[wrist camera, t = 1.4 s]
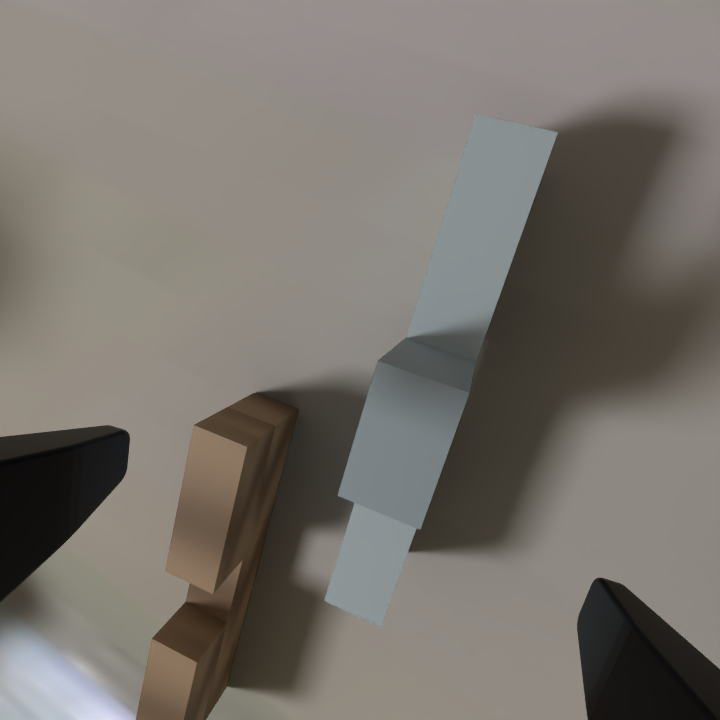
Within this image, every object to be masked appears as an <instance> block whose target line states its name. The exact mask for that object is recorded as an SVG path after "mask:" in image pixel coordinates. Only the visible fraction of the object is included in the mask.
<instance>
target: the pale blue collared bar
mask: <svg viewBox="0 0 720 720" xmlns="http://www.w3.org/2000/svg"><path fill="white" fill-rule="evenodd" d="M557 134H558V132H554V131H549V130H545V129H540V128H536V127H532V126H527V125H523V124H518V123H514V122H509V121H505V120H501V119H496V118H492V117H487V116H483V115H478V114H475V117H474V121H473V124H472V127H471V130H470V133H469V137H468V140H467V143H466V146H465V149H464V153H463V156H462V159H461V162H460V166H459V169H458V172H457V175H456V178H455V182H454V185H453V188H452V191H451V194H450V198H449V201H448V204H447V207H446V211H445V214H444V217H443V220H442V223H441V227H440V230H439V233H438V236H437V239H436V243H435V246H434V249H433V252H432V256H431V259H430V262H429V265H428V268H427V272H426V275H425V278H424V281H423V285H422V288H421V291H420V294H419V297H418V301H417V304H416V307H415V310H414V313H413V317H412V320H411V323H410V326H409V330H408V333H407V336H406V338H405V339H404V340H403V341H401V342H400V343H399V344H398V345H397V346H395V347H394V348H393V349H392V350H390V351H389V352H388V353H387V354H385V355H384V356H383V357H382V358H381V359H379V360H378V361H377V365H376V368H375V371H374V375H373V378H372V381H371V385H370V388H369V391H368V395H367V398H366V401H365V405H364V408H363V412H362V415H361V418H360V422H359V425H358V428H357V432H356V435H355V438H354V442H353V445H352V448H351V452H350V455H349V458H348V462H347V465H346V468H345V472H344V475H343V479H342V482H341V485H340V489H339V492H338V495H337V496H339V497H342V498H344V499H347V500H349V501H351V502H354V506H353V510H352V513H351V516H350V519H349V522H348V526H347V529H346V532H345V535H344V539H343V542H342V545H341V548H340V551H339V555H338V558H337V561H336V564H335V567H334V571H333V574H332V577H331V580H330V584H329V587H328V590H327V593H326V596H325V600H324V601H326V602H328V603H330V604H332V605H334V606H336V607H339V608H341V609H343V610H345V611H347V612H349V613H351V614H354V615H356V616H358V617H360V618H362V619H364V620H367V621H369V622H371V623H373V624H375V625H377V626H379V627H381V626H382V624H383V621H384V618H385V615H386V612H387V610H388V607H389V604H390V601H391V598H392V596H393V593H394V590H395V587H396V584H397V582H398V579H399V576H400V573H401V570H402V568H403V565H404V562H405V559H406V556H407V554H408V551H409V548H410V545H411V542H412V540H413V537H414V534H415V531H416V528H417V529H419V530H420V529H421V527H422V524H423V521H424V518H425V516H426V513H427V510H428V507H429V505H430V502H431V499H432V496H433V493H434V491H435V488H436V485H437V482H438V480H439V477H440V474H441V471H442V468H443V466H444V463H445V460H446V457H447V455H448V452H449V449H450V446H451V443H452V441H453V438H454V435H455V432H456V430H457V427H458V424H459V421H460V418H461V416H462V413H463V410H464V407H465V405H466V402H467V399H468V396H469V393H470V389H471V384H472V379H473V375H474V370H475V365H476V361H477V358H478V355H479V352H480V349H481V347H482V344H483V341H484V338H485V335H486V333H487V330H488V327H489V324H490V321H491V319H492V316H493V313H494V310H495V307H496V305H497V302H498V299H499V296H500V293H501V291H502V288H503V285H504V282H505V279H506V277H507V274H508V271H509V268H510V265H511V263H512V260H513V257H514V254H515V251H516V249H517V246H518V243H519V240H520V237H521V235H522V232H523V229H524V226H525V223H526V221H527V218H528V215H529V212H530V209H531V207H532V204H533V201H534V198H535V195H536V193H537V190H538V187H539V184H540V181H541V179H542V176H543V173H544V170H545V167H546V165H547V162H548V159H549V156H550V153H551V151H552V148H553V145H554V142H555V139H556V137H557Z"/></svg>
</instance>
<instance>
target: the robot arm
mask: <svg viewBox="0 0 720 720" xmlns="http://www.w3.org/2000/svg"><path fill="white" fill-rule="evenodd" d="M129 443H130V436H129V433H128V432H127V431H126V430H123V429H120V428H117V427H114V426H109V425H105V426H96V427H87V428H78V429H69V430H60V431H51V432H42V433H33V434H24V435H15V436H6V437H0V602H1V601H3V600H4V599H5V598H6V597H7V596H8V595H9V594H10V593H11V592H12V591H13V590H14V589H16V588H17V587H18V586H19V585H20V584H21V583H22V582H23V581H24V580H25V579H26V578H27V577H29V576H30V575H31V574H32V573H33V572H34V571H35V570H36V569H37V568H38V567H39V566H40V565H42V564H43V563H44V562H45V561H46V560H47V559H48V558H49V557H50V556H51V555H52V554H54V553H55V552H56V551H57V550H58V549H59V548H60V547H61V546H62V545H63V544H64V543H65V542H66V541H67V540H68V539H69V538H70V537H71V536H72V535H73V534H74V533H75V532H76V531H77V530H78V529H79V527H80V526H81V525H82V524H83V523H84V522H85V521H86V520H87V519H88V517H89V516H90V515H91V514H92V513H93V512H94V511H95V510H96V509H97V507H98V506H99V505H100V504H101V503H102V502H103V501H104V500H105V499H106V497H107V496H108V495H109V494H110V493H111V492H112V491H113V490H114V489H115V487H116V486H117V485H118V484H119V483H120V482H121V481H122V479H123V478H124V476H125V474H126V470H127V464H128V454H129ZM577 631H578V640H579V649H580V658H581V667H582V675H583V684H584V693H585V702H586V710H587V717H588V720H720V669H719V668H718V667H717V666H716V665H714V664H713V663H712V662H711V661H710V660H709V659H708V658H706V657H705V656H704V655H703V654H702V653H701V652H700V651H698V650H697V649H696V648H695V647H694V646H693V645H692V644H690V643H689V642H688V641H687V640H686V639H685V638H684V637H682V636H681V635H680V634H679V633H678V632H677V631H676V630H674V629H673V628H672V627H671V626H670V625H669V624H668V623H666V622H665V621H664V620H663V619H662V618H661V617H660V616H658V615H657V614H656V613H655V612H654V611H653V610H652V609H650V608H649V607H648V606H647V605H646V604H645V603H644V602H642V601H641V600H640V599H639V598H638V597H637V596H636V595H634V594H633V593H632V592H631V591H630V590H629V589H628V588H626V587H625V586H624V585H622V584H620V583H617V582H614V581H611V580H608V579H604V578H597V579H595V580H594V582H593V583H592V585H591V587H590V590H589V592H588V594H587V597H586V599H585V602H584V604H583V606H582V609H581V611H580V614H579V617H578V622H577Z"/></svg>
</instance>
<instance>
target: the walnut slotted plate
mask: <svg viewBox="0 0 720 720" xmlns="http://www.w3.org/2000/svg"><path fill="white" fill-rule="evenodd" d="M297 413H298V409H296V408H293V407H290V406H288V405H285V404H283V403H280V402H277V401H275V400H272V399H270V398H267V397H264V396H262V395H259V394H256V393H253V394H251V395H249V396H248V397H246V398H244V399H242V400H240V401H238V402H236V403H234V404H233V405H231V406H229V407H227V408H225V409H223V410H221V411H219V412H217V413H216V414H214V415H212V416H210V417H208V418H206V419H204V420H202V421H201V422H199V423H197V424H195V425H194V427H193V432H192V437H191V442H190V447H189V452H188V457H187V462H186V467H185V472H184V478H183V483H182V488H181V493H180V498H179V503H178V508H177V513H176V518H175V523H174V528H173V534H172V539H171V544H170V549H169V554H168V559H167V564H166V569H165V571H166V572H168V573H170V574H172V575H174V576H176V577H178V578H181V579H183V580H185V581H187V582H189V583H190V584H189V589H188V594H187V598H186V602H185V603H184V604H183V605H182V607H181V608H180V609H179V610H178V611H177V612H176V613H175V614H174V615H173V616H172V617H171V618H170V620H169V621H168V622H167V623H166V624H165V625H164V626H163V627H162V628H161V629H160V630H159V632H158V633H157V634H156V635H155V636H154V637H153V638H152V640H151V646H150V651H149V656H148V661H147V666H146V671H145V676H144V681H143V686H142V691H141V696H140V702H139V707H138V712H137V717H136V720H206V719H207V717H208V715H209V714H210V712H211V711H212V709H213V708H214V706H215V704H216V703H217V701H218V700H219V698H220V697H221V695H222V694H223V692H224V690H225V689H226V687H227V683H228V679H229V675H230V672H231V668H232V664H233V660H234V656H235V652H236V648H237V645H238V641H239V637H240V633H241V629H242V625H243V621H244V617H245V614H246V610H247V606H248V602H249V598H250V594H251V590H252V587H253V583H254V579H255V575H256V571H257V567H258V563H259V559H260V556H261V552H262V548H263V544H264V540H265V536H266V532H267V529H268V525H269V521H270V517H271V513H272V509H273V505H274V501H275V498H276V494H277V490H278V486H279V482H280V478H281V474H282V471H283V467H284V463H285V459H286V455H287V451H288V447H289V443H290V440H291V436H292V432H293V428H294V424H295V420H296V416H297Z"/></svg>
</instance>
